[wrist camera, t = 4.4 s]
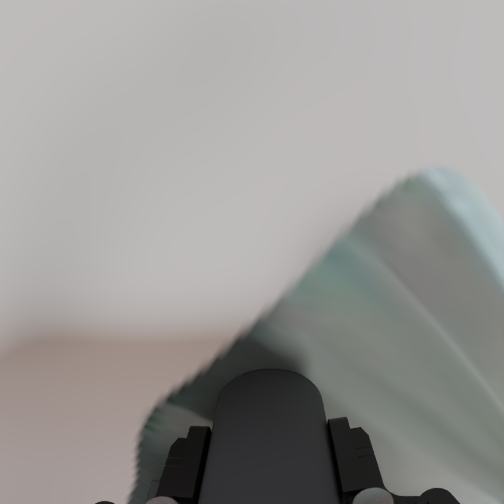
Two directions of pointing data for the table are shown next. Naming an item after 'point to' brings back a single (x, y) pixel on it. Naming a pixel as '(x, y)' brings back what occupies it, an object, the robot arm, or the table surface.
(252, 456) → the lens
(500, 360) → the table surface
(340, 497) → the robot arm
